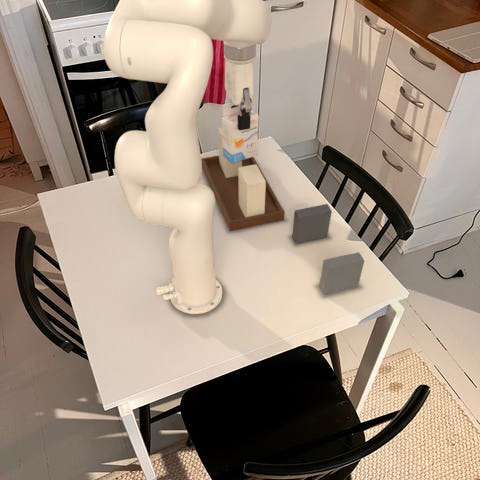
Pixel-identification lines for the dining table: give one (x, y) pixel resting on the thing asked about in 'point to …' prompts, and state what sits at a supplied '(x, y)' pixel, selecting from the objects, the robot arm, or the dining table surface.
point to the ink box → (238, 135)
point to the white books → (245, 182)
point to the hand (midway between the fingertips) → (240, 121)
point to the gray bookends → (334, 269)
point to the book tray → (229, 196)
